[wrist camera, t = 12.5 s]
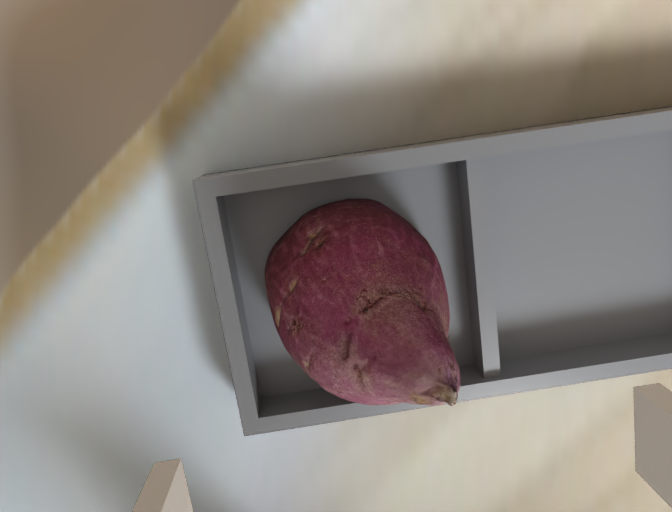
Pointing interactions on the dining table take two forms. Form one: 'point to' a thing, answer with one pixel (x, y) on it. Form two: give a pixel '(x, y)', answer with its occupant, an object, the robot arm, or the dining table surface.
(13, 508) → the dining table surface
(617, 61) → the dining table surface
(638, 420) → the robot arm
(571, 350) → the grey compartment tray
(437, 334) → the vegetable
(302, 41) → the dining table surface
